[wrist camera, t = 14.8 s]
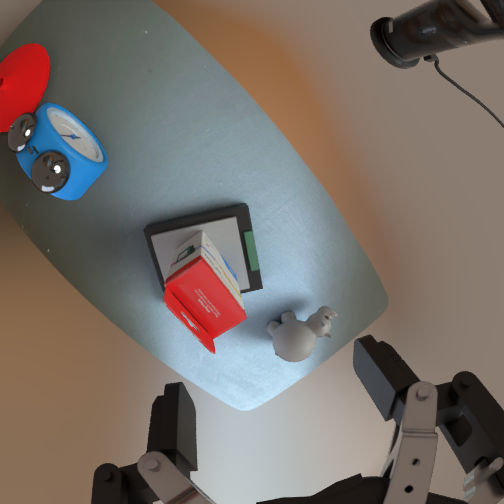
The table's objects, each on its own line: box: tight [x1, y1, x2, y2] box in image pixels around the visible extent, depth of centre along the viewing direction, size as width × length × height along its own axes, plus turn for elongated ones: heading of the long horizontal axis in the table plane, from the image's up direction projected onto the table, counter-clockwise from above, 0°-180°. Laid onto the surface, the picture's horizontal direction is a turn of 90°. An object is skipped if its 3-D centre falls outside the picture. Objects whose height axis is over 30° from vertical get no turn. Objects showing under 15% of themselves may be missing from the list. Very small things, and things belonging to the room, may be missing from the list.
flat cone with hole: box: [0, 43, 50, 132], centre depth 23 cm, size 16×16×7 cm
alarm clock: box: [7, 103, 108, 200], centre depth 26 cm, size 13×6×15 cm, turn 38°
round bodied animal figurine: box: [266, 306, 337, 362], centre depth 44 cm, size 7×12×8 cm, turn 121°
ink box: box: [163, 231, 247, 354], centre depth 31 cm, size 8×5×15 cm, turn 33°
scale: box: [144, 203, 263, 294], centre depth 40 cm, size 15×13×3 cm
